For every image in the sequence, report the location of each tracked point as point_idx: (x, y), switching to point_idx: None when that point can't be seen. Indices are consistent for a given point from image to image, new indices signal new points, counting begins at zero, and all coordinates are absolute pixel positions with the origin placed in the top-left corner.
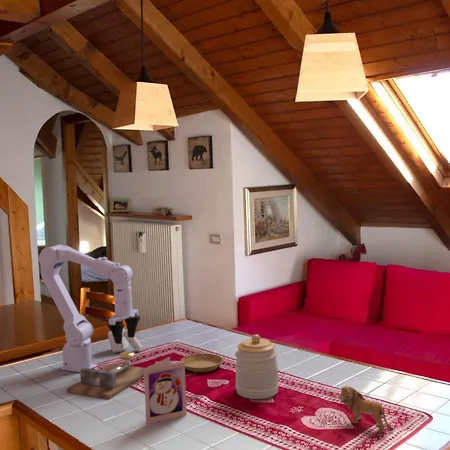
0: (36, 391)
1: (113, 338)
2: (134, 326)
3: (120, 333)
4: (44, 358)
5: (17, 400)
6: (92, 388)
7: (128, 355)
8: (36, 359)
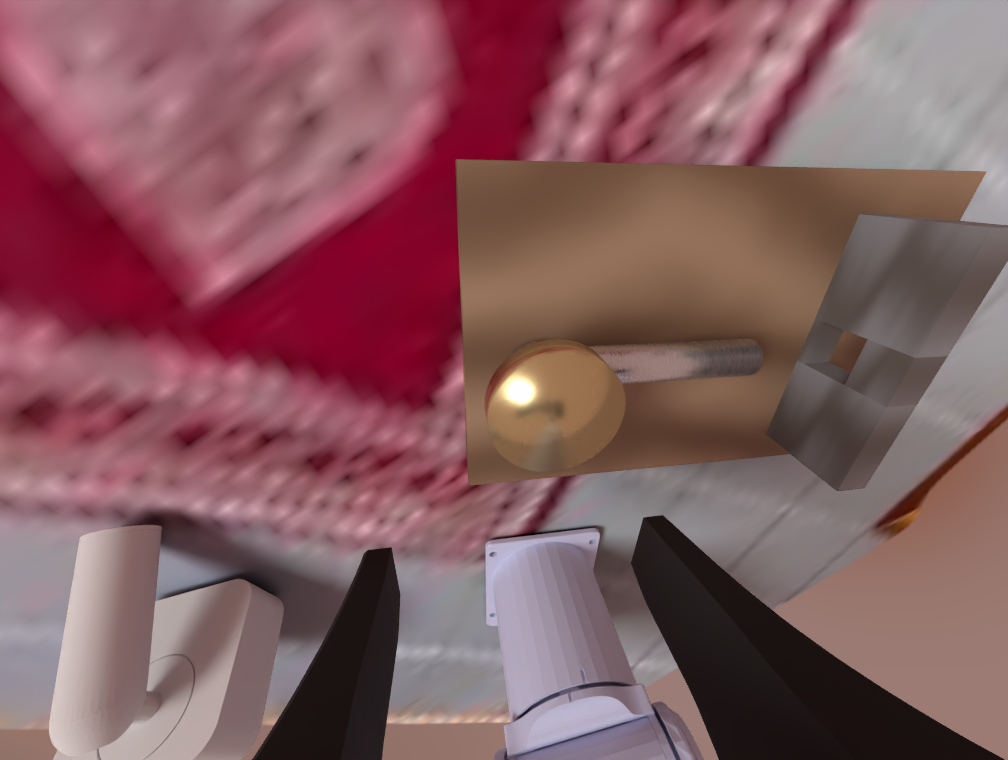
0: (805, 528)
1: (244, 696)
2: (348, 737)
3: (804, 640)
4: (488, 705)
5: (882, 520)
6: (856, 342)
7: (605, 374)
8: (507, 711)
